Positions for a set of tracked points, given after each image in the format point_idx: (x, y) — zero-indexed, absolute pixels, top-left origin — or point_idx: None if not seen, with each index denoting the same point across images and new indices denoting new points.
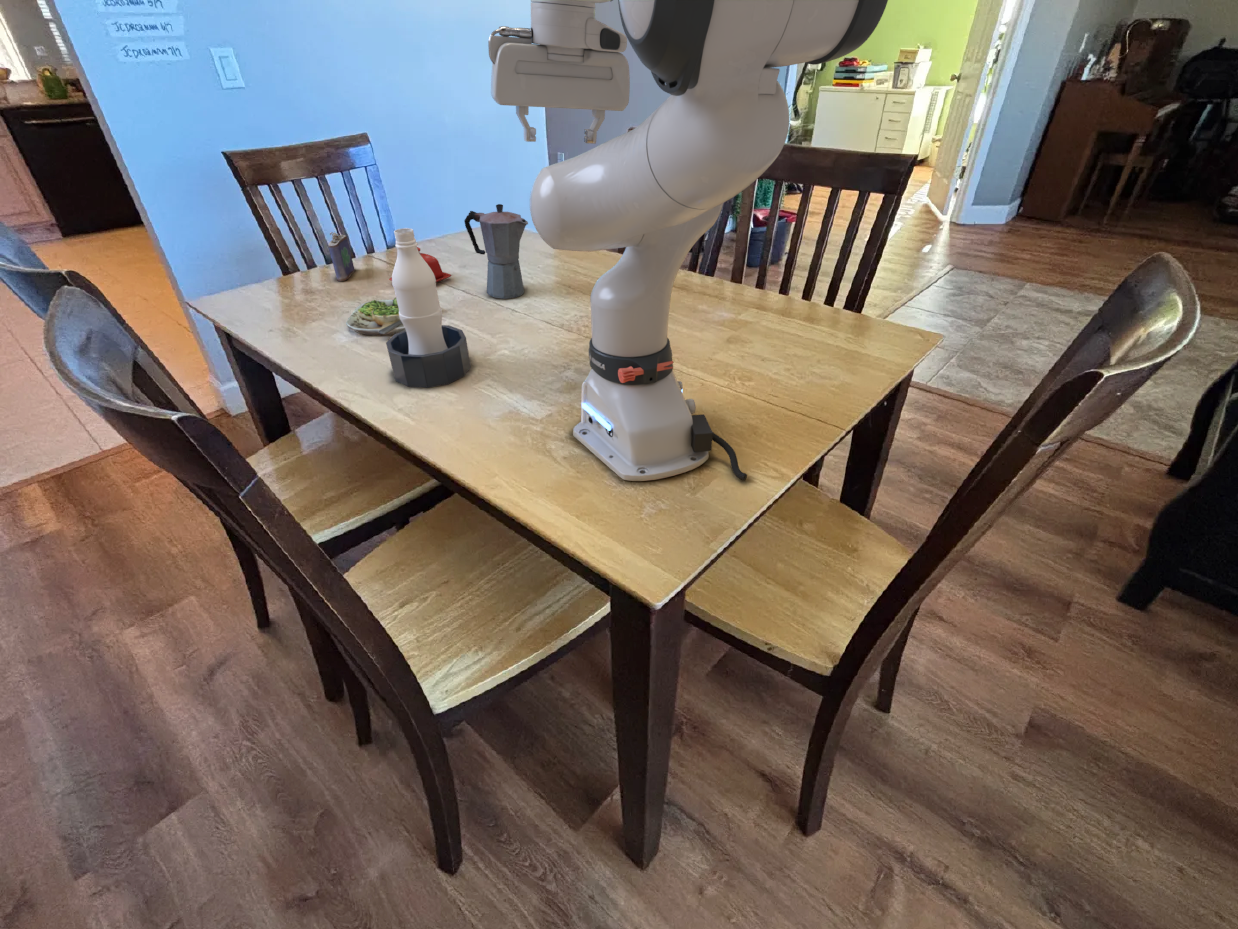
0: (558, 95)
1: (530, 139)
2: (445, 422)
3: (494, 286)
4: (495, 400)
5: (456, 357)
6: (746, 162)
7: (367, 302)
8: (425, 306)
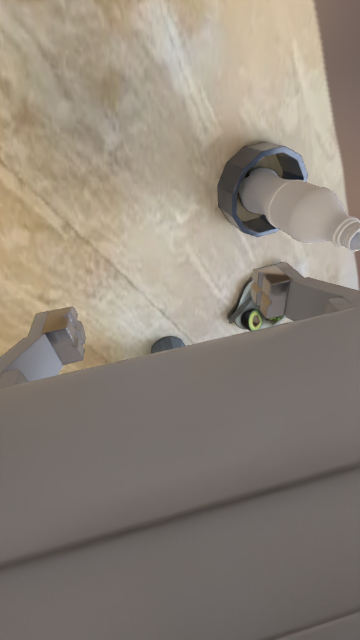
0: (239, 374)
1: (273, 265)
2: (264, 30)
3: (180, 345)
4: (203, 80)
5: (242, 162)
6: None
7: (279, 323)
8: (295, 184)
